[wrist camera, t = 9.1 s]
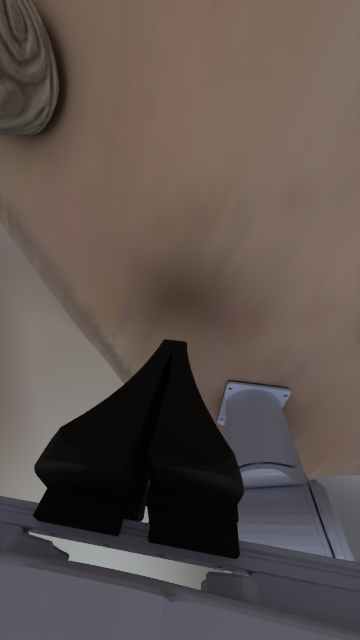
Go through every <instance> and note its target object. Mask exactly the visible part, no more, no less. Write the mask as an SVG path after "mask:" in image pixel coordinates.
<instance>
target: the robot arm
mask: <svg viewBox="0 0 360 640" xmlns="http://www.w3.org/2000/svg"><path fill="white" fill-rule="evenodd" d="M229 387H231V388H229ZM290 394H291V391H290V389H287V388H280V387H272V386H264V385H256V384H248V383H240V382H232V381H230V382H228V383H227V385H226V389H225V393H224V396H223V400H222V404H221V408H220V412H219V416H218V420H217V423H218V424H219V425H224V433H225V438H224V437H223V435H222V434H221V432H220V431H219V429H218V427H217V426H216V424H215V422H214V421H213V419H212V417H211V415H210V413H209V411H208V410H207V408H206V406H205V404H204V402H203V399H202V397H201V395H200V393H199V390H198V388H197V385H196V383H195V380H194V377H193V374H192V371H191V367H190V363H189V359H188V354H187V343H186V342H184V341H175V340H166V339H165V340H163V342H162V343H161V345H160V346H159V348H158V349H157V350H156V352H155V353H154V354H153V355H152V357H151V358H150V359H149V360H148V361H147V362H146V364H145V365H144V366H143V367H142V368H141V369H140V370H139V371H138V372H137V373H136V374H135V375H134V376H133V377H132V378H131V379H130V380H129V381H128V382H126V383H125V384H124V385H123V386H122V387H121V388H119V389H118V390H117V391H116V392H114V393H113V394H112V395H111V396H109V397H108V398H107V399H105V400H104V401H102V402H101V403H99V404H98V405H96V406H95V407H93V408H92V409H91V410H89V411H87V412H86V413H84V414H83V415H81V416H79V417H77V418H76V419H74V420H72V421H71V422H69V423H67V424H66V425H64V426H62V427H61V428H60V429H59V430H58V432H57V433H56V434H55V435H54V437H53V438H52V439H51V441H50V442H49V444H48V445H47V447H46V448H45V450H44V451H43V453H42V454H41V456H40V458H39V459H38V461H37V462H36V464H35V467H34V470H35V473H36V475H37V476H38V477H39V478H40V480H41V481H42V482H43V483H44V484H45V486H46V487H47V490H46V492H45V494H44V495H43V497H42V499H41V501H40V503H36V502H30V501H25V500H19V499H14V498H8V497H3V496H0V640H360V562H356V561H355V559H354V556H353V554H352V551H351V549H350V547H349V544H348V542H347V539H346V537H345V534H344V532H343V529H342V527H341V525H340V522H339V520H338V517H337V515H336V512H335V510H334V507H333V505H332V503H331V500H330V498H329V495H328V493H327V490H326V488H325V487H324V486H322V485H321V484H320V483H318V482H317V480H315V479H313V480H309V481H308V478H307V476H306V474H305V472H304V470H303V467H302V464H301V462H300V459H299V456H298V453H297V450H296V447H295V444H294V442H293V439H292V436H291V433H290V430H289V427H288V424H287V422H286V419H285V416H284V413H283V410H282V409H283V407H284V405H285V403H286V401H287V400H288V398H289V396H290ZM149 482H150V483H149ZM145 506H147V509H148V516H149V523H143V522H141V521H142V520H143V518H144V512H145ZM28 532H32V533H37V534H42V535H47V536H52V537H57V538H62V539H67V540H73V541H77V542H83V543H88V544H93V545H98V546H103V547H108V548H113V549H118V550H123V551H128V552H133V553H138V554H143V555H149V556H153V557H159V558H163V559H168V560H173V561H179V562H184V563H189V564H194V565H199V566H204V567H209V568H214V569H219V570H224V573H219V572H208V573H207V574H206V580H203V582H202V583H201V590H197V589H193V588H189V587H185V586H181V585H178V584H174V583H169V582H166V581H162V580H158V579H154V578H150V577H145V576H141V575H137V574H132V573H128V572H123V571H118V570H114V569H109V568H104V567H100V566H94V565H90V564H84V563H79V562H73V561H68V559H69V554H68V553H66V552H64V551H62V550H60V549H58V548H57V547H55V546H54V545H53V543H52V542H51V541H49V540H45V539H43V538H39V537H36V536H33V535H29V533H28Z"/></svg>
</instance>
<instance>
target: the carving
mask: <svg viewBox="0 0 360 640" xmlns="http://www.w3.org/2000/svg"><path fill="white" fill-rule="evenodd" d="M58 94H59V79H58V72H57V66H56V60H55V56H54V52H53V49H52V45H51V42H50V39H49V36H48V33H47V31H46V28H45V26H44V24H43V22H42V19H41V17H40V16H39V14H38V12H37V9H36V7H35V5H34V3H33V1H32V0H0V135H26V134H37V133H39V132H40V131H41V130H42V129H43V128H44V127H45V126H46V124H47V123H48V122H49V120H50V119H51V117H52V115H53V112H54V109H55V106H56V103H57V99H58Z"/></svg>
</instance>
